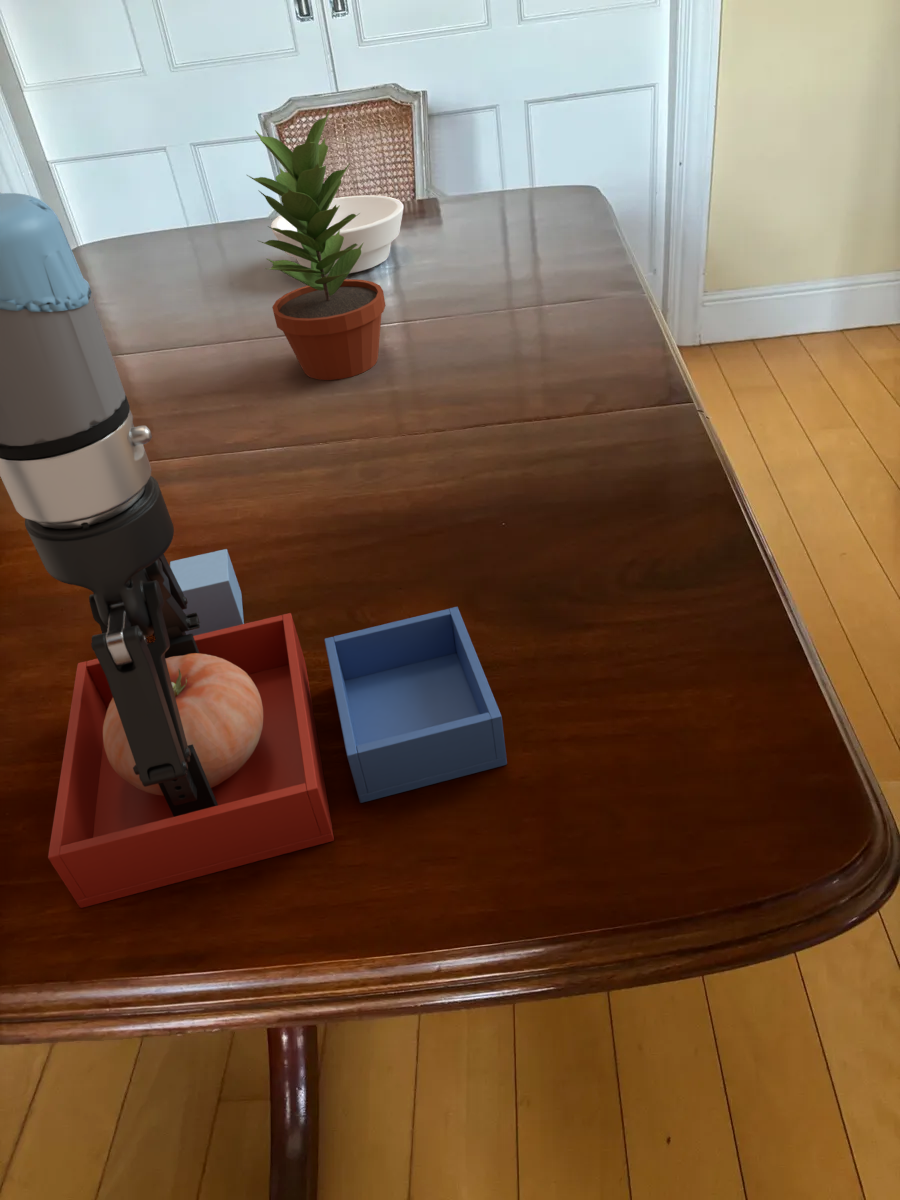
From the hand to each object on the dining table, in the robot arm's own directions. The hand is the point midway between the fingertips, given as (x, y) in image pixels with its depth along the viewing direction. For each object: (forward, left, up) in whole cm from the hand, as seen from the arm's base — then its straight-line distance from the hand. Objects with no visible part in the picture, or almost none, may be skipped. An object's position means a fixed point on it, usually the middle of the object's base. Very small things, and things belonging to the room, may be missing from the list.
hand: (199, 759), depth 64 cm
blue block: (+1, +19, -1) cm, 19 cm away
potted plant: (+19, +69, -1) cm, 71 cm away
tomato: (0, 0, 0) cm, 0 cm away
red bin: (0, 0, -1) cm, 1 cm away
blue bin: (+16, 0, -1) cm, 16 cm away
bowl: (+26, +112, -1) cm, 115 cm away
